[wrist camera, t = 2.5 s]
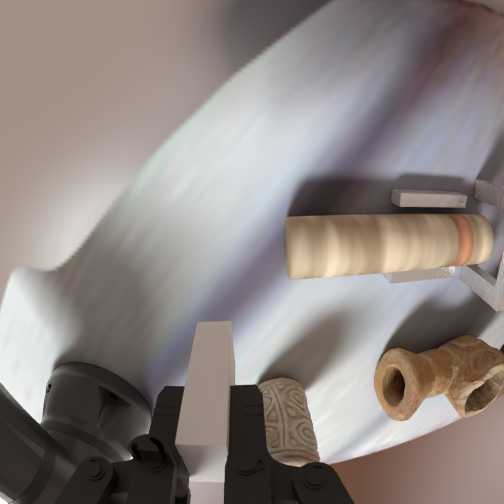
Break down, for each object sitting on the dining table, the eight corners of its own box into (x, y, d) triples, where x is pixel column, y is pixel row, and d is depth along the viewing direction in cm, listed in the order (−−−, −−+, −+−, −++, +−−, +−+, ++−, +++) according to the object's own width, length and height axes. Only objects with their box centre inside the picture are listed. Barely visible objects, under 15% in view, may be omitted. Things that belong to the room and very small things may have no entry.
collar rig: (381, 288, 30) (413, 329, 23) (392, 173, 25) (437, 190, 18) (525, 269, 30) (559, 293, 23) (541, 187, 26) (580, 203, 19)
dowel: (284, 264, 28) (292, 290, 24) (283, 210, 26) (293, 226, 22) (461, 253, 29) (488, 271, 24) (467, 208, 27) (497, 222, 22)
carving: (259, 413, 36) (265, 494, 25) (243, 375, 33) (246, 465, 22) (308, 403, 36) (325, 482, 24) (299, 363, 33) (319, 452, 22)
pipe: (379, 334, 32) (415, 397, 23) (482, 310, 32) (526, 353, 23) (368, 388, 35) (393, 448, 26) (465, 361, 35) (498, 406, 26)
